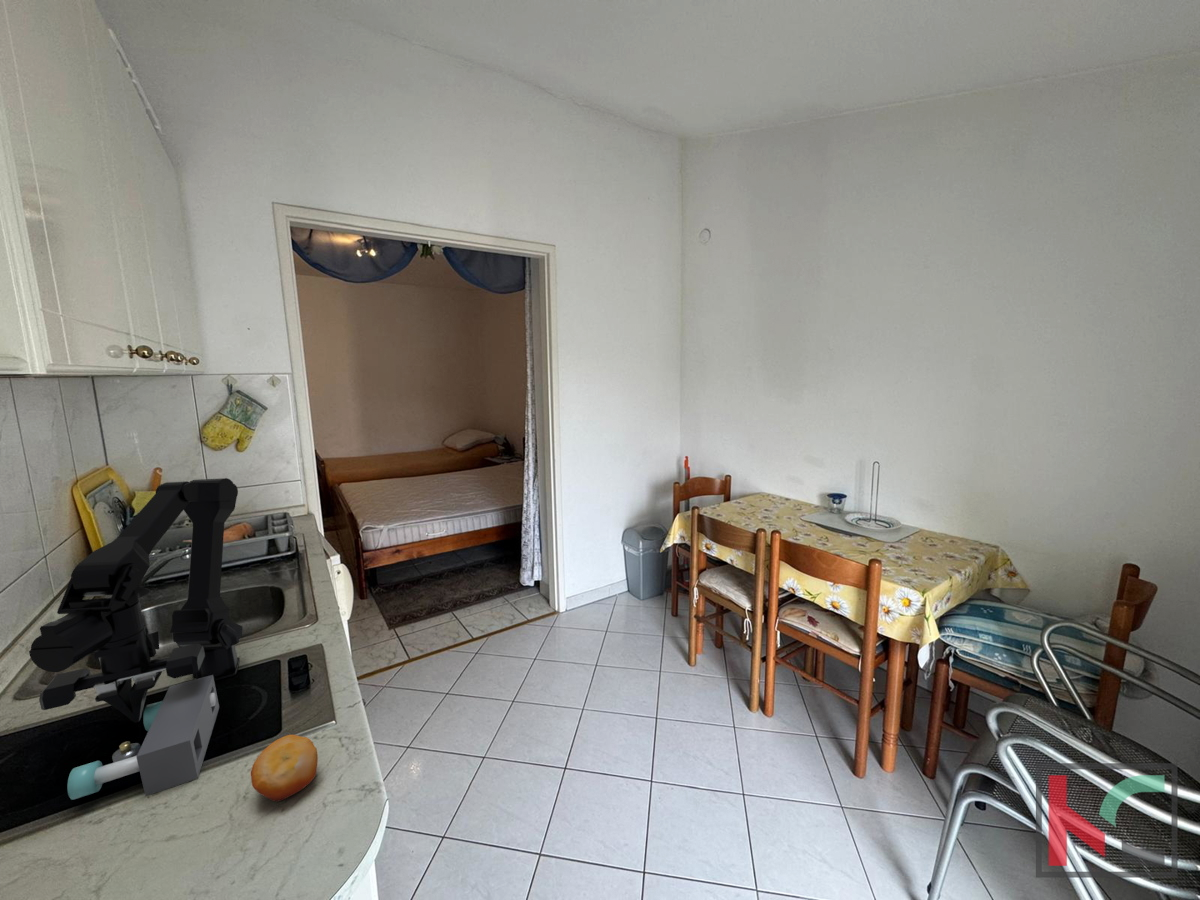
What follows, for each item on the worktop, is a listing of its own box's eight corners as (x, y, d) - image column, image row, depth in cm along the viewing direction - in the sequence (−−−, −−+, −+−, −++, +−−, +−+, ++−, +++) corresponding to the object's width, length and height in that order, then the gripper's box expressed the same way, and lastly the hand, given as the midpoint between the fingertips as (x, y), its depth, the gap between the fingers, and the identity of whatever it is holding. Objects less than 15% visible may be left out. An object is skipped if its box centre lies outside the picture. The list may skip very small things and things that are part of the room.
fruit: (306, 742, 79) (308, 716, 75) (323, 789, 75) (325, 765, 71) (245, 772, 73) (243, 746, 69) (259, 825, 69) (258, 801, 65)
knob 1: (162, 760, 76) (157, 737, 75) (155, 778, 73) (149, 754, 72) (83, 785, 72) (77, 761, 71) (71, 806, 69) (64, 781, 68)
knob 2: (218, 702, 89) (214, 682, 88) (214, 716, 85) (210, 695, 85) (153, 721, 85) (148, 700, 84) (146, 736, 81) (141, 714, 81)
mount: (219, 707, 90) (213, 674, 89) (197, 778, 74) (189, 740, 73) (176, 719, 87) (169, 686, 86) (145, 796, 72) (136, 756, 70)
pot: (146, 753, 80) (141, 733, 79) (140, 767, 77) (135, 746, 76) (119, 762, 78) (114, 741, 77) (112, 776, 75) (107, 755, 75)
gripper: (204, 598, 91) (217, 676, 93) (62, 625, 82) (81, 710, 85) (189, 626, 81) (204, 712, 84) (27, 660, 72) (50, 755, 75)
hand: (137, 720), depth 82 cm, fingers closed
